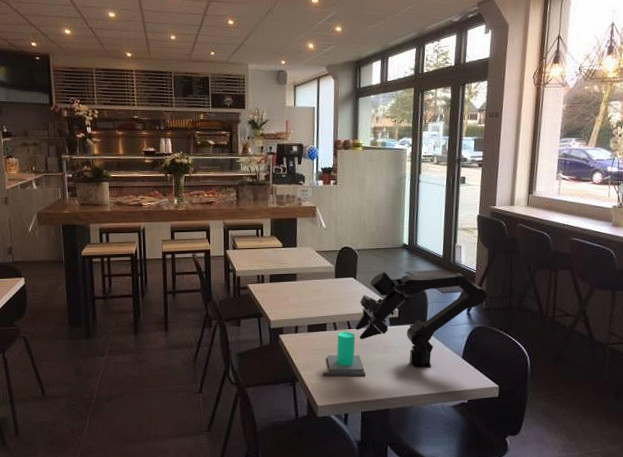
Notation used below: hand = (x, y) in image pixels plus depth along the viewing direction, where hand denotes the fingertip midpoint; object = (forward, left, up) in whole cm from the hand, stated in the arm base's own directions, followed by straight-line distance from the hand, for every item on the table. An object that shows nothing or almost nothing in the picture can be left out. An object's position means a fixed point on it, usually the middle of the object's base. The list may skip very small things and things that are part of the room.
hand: (358, 333), depth 197 cm
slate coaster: (+4, 0, -12) cm, 13 cm away
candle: (+4, 0, -11) cm, 12 cm away
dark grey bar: (+5, +9, -12) cm, 16 cm away
